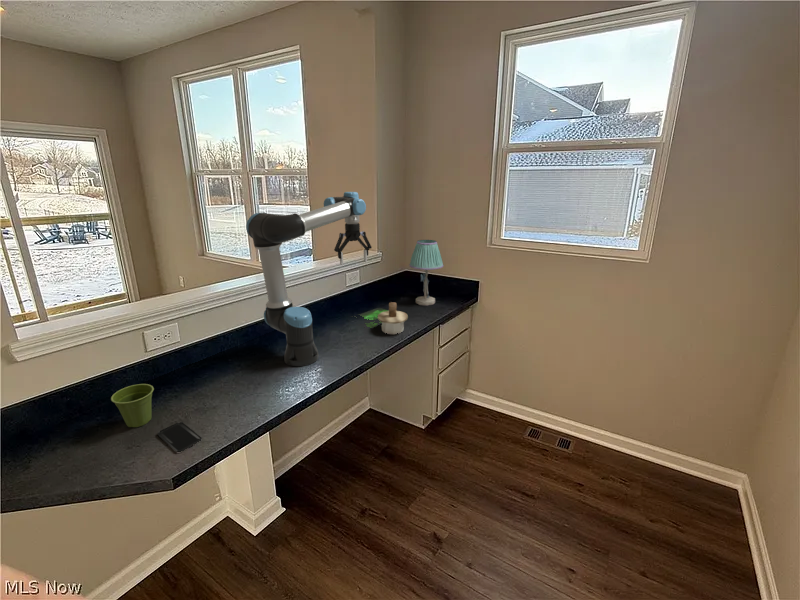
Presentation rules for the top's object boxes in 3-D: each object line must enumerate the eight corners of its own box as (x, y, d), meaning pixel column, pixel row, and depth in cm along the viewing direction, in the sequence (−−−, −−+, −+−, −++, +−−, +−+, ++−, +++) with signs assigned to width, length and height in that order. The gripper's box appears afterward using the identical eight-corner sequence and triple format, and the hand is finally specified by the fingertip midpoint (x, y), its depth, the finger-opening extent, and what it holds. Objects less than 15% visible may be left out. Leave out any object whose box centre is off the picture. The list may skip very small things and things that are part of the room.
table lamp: (406, 297, 261) (407, 238, 248) (438, 296, 263) (440, 238, 250) (411, 308, 240) (412, 244, 227) (445, 307, 242) (447, 244, 230)
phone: (180, 420, 131) (202, 438, 122) (181, 423, 131) (203, 441, 123) (155, 432, 125) (177, 452, 116) (156, 435, 125) (177, 455, 117)
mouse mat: (369, 330, 208) (369, 328, 208) (344, 319, 223) (344, 318, 223) (404, 317, 227) (404, 315, 227) (379, 308, 241) (379, 306, 241)
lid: (386, 325, 195) (385, 310, 193) (372, 315, 209) (372, 301, 206) (413, 320, 202) (413, 305, 200) (398, 310, 216) (398, 297, 213)
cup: (388, 335, 201) (388, 323, 198) (379, 328, 210) (378, 316, 208) (406, 331, 206) (406, 319, 203) (397, 324, 215) (397, 313, 213)
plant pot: (133, 436, 125) (126, 406, 121) (110, 427, 129) (102, 397, 125) (167, 416, 135) (161, 388, 131) (145, 408, 139) (138, 380, 136)
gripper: (331, 225, 190) (333, 267, 197) (377, 222, 201) (377, 262, 208) (326, 223, 196) (329, 264, 203) (371, 220, 207) (372, 259, 214)
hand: (353, 263), depth 205 cm, fingers open, 13 cm apart
